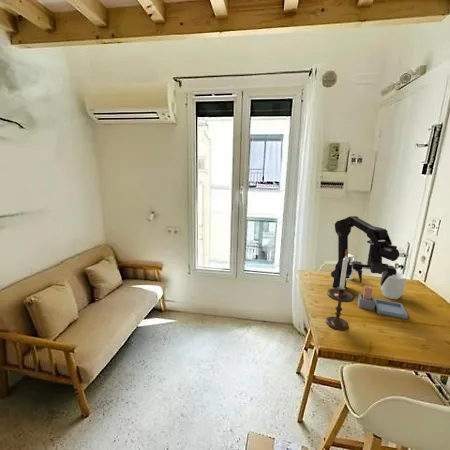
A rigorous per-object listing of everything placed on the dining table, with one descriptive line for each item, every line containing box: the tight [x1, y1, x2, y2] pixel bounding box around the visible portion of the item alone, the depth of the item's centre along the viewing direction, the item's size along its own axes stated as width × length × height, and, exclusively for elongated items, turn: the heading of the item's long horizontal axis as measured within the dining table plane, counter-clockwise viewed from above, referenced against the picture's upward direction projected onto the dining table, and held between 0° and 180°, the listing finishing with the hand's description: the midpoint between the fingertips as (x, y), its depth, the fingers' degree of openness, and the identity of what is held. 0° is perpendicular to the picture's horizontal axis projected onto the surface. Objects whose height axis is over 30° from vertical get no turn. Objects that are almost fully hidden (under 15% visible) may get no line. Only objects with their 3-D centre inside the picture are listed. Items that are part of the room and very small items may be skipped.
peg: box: [362, 285, 373, 300], centre depth 133 cm, size 3×3×10 cm
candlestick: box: [325, 249, 356, 331], centre depth 114 cm, size 11×11×35 cm
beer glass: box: [346, 253, 357, 281], centre depth 168 cm, size 7×7×15 cm
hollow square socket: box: [357, 293, 376, 311], centre depth 133 cm, size 7×7×5 cm
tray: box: [374, 298, 409, 320], centre depth 130 cm, size 12×12×2 cm
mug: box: [380, 271, 407, 300], centre depth 145 cm, size 15×11×13 cm
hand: (370, 283), depth 132 cm, fingers open, 9 cm apart
